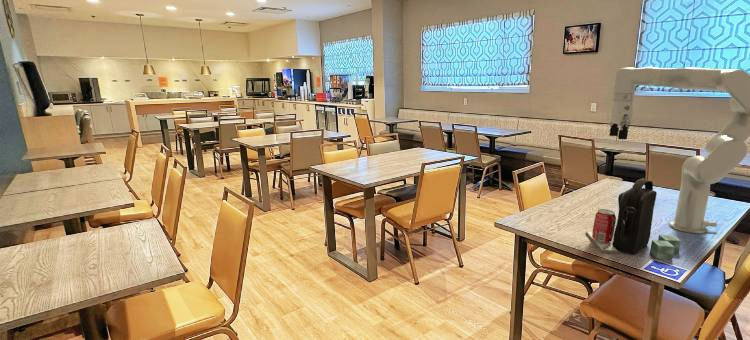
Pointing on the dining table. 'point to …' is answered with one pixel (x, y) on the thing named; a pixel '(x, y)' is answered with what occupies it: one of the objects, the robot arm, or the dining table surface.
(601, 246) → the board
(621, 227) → the shoulder bag
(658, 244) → the sage green cube
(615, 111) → the robot arm
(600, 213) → the soda can
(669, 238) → the pale green cube
